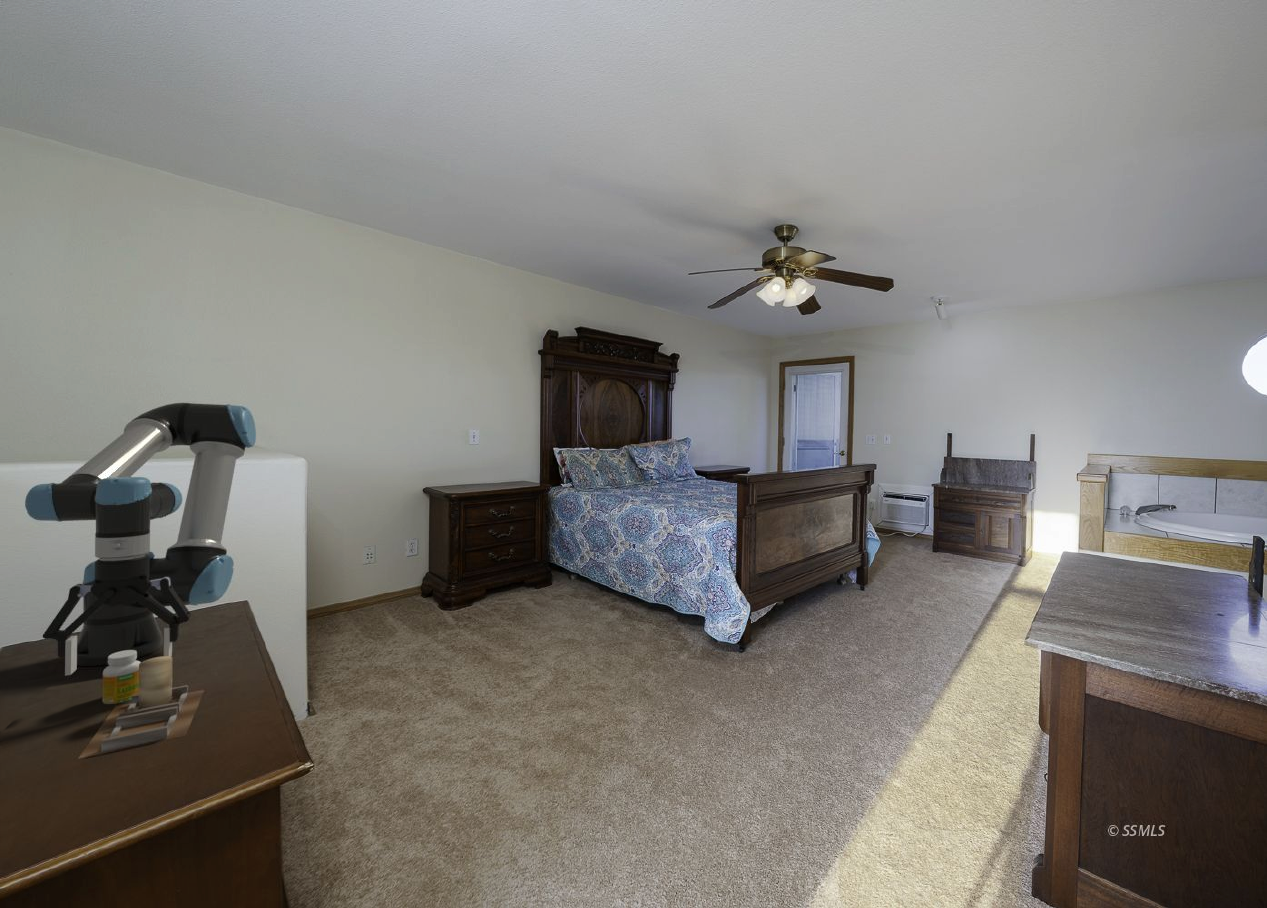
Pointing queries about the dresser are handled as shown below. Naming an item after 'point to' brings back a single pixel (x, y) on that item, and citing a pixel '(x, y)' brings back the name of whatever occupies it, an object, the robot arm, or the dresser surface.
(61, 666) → the dresser surface
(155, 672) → the beech dowel
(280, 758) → the dresser surface
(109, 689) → the supplement bottle
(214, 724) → the dresser surface
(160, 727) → the board
